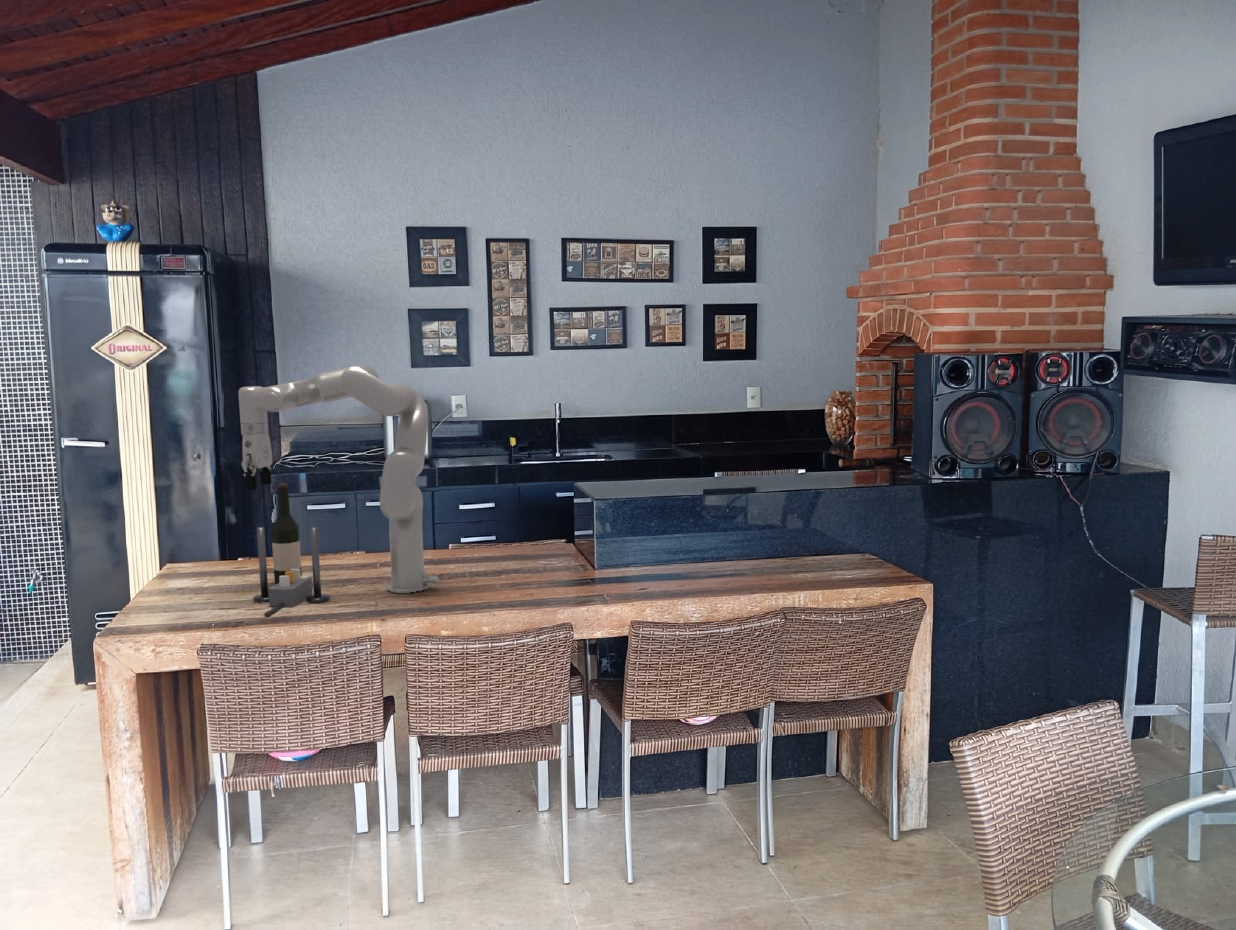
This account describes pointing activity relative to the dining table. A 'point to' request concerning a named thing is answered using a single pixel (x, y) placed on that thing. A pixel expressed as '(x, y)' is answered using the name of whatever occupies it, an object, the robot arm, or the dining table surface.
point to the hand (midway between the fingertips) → (258, 486)
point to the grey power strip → (289, 592)
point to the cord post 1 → (262, 567)
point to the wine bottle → (285, 537)
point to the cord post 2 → (316, 570)
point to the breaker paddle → (290, 576)
